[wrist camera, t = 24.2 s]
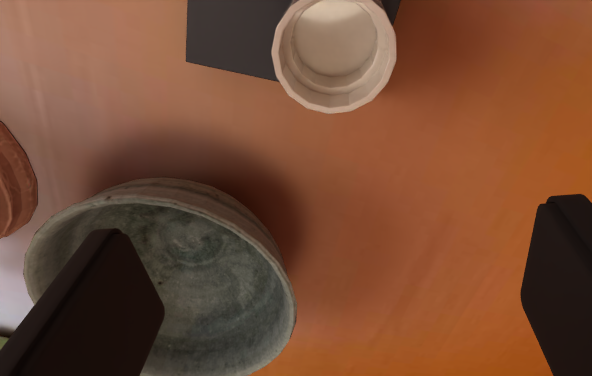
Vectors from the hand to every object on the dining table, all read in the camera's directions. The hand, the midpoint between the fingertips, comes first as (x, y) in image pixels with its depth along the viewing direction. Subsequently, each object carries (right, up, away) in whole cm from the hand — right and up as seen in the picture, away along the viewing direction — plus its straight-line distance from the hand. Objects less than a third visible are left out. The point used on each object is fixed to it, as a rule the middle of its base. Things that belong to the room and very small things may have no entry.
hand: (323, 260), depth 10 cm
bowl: (-10, -2, +30) cm, 32 cm away
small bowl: (+2, +12, +17) cm, 20 cm away
